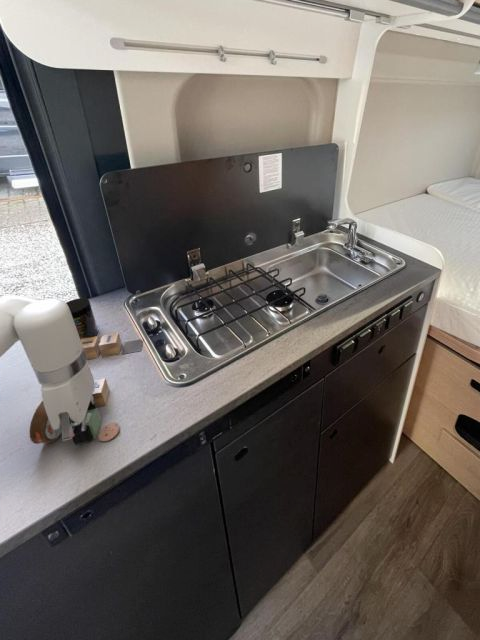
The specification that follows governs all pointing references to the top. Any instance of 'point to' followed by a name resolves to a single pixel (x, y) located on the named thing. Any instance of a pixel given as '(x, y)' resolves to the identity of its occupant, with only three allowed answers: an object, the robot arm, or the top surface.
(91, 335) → the supplement container
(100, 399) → the front word
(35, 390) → the top surface
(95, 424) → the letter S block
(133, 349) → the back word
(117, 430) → the cookie
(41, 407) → the tin
